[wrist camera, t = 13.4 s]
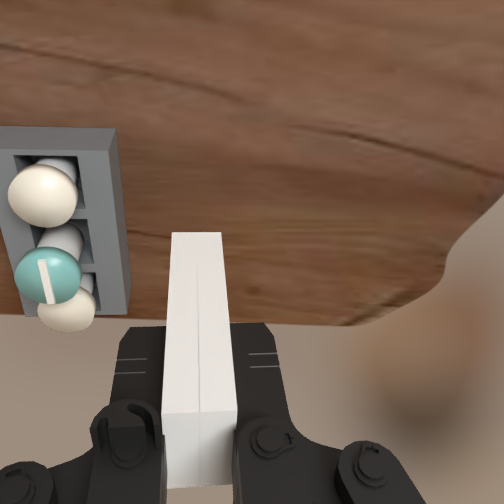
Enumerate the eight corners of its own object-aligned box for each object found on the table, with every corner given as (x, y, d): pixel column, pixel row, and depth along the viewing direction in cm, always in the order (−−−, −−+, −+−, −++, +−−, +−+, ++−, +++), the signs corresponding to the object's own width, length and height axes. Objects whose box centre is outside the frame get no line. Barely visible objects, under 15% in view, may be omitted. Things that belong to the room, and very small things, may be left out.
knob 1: (36, 190, 44) (15, 227, 39) (24, 138, 41) (0, 171, 36) (92, 191, 45) (79, 227, 40) (84, 140, 42) (69, 172, 37)
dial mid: (41, 260, 45) (20, 307, 40) (30, 214, 43) (6, 258, 37) (95, 259, 46) (82, 306, 41) (88, 214, 43) (73, 258, 38)
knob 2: (58, 291, 51) (42, 333, 46) (49, 252, 48) (32, 293, 43) (106, 290, 52) (96, 332, 46) (100, 252, 49) (90, 292, 44)
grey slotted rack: (38, 285, 52) (25, 316, 48) (-1, 125, 42) (-22, 148, 38) (131, 283, 54) (127, 314, 49) (115, 128, 43) (108, 150, 39)
